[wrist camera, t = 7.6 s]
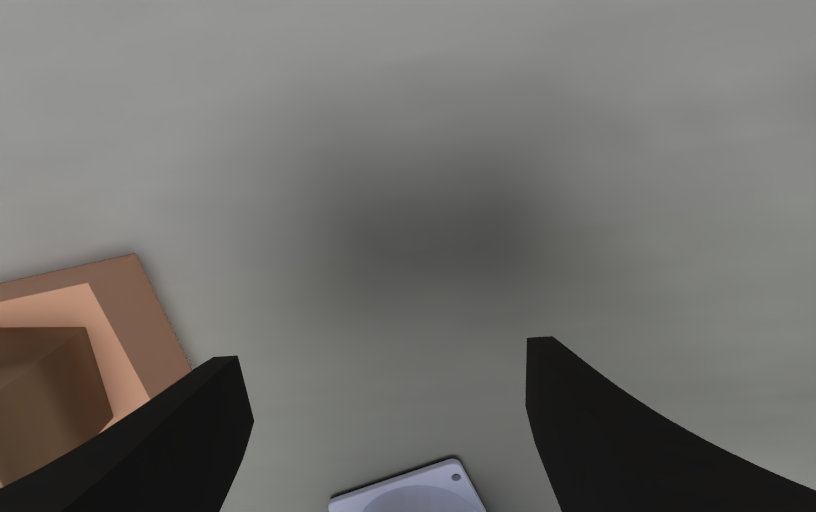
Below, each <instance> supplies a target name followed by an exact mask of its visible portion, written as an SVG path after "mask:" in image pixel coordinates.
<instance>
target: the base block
mask: <svg viewBox="0 0 816 512" xmlns="http://www.w3.org/2000/svg"><path fill="white" fill-rule="evenodd" d="M0 327H86V329H87V333H88V336H89V339H90V342H91V346H92V349H93V352H94V355H95V358H96V362H97V365H98V368H99V371H100V375H101V378H102V381H103V384H104V387H105V391H106V394H107V397H108V400H109V404H110V407H111V410H112V413H113V416H114V417H113V418H112V420H111V421H110V422H109V423H108V424H107V425H106V426H105V427H104V428H103V430H102V431H104V430H105V429H107V428H109V427H110V426H112V425H113V424H115V423H116V422H118V421H119V420H121V419H122V418H124V417H125V416H127V415H128V414H130V413H132V412H133V411H135V410H136V409H138V408H139V407H141V406H142V405H144V404H145V403H146V402H148V401H149V400H151V399H152V398H154V397H155V396H156V395H158V394H159V393H161V392H162V391H164V390H165V389H166V388H168V387H169V386H171V385H172V384H174V383H175V382H176V381H178V380H179V379H181V378H182V377H184V376H185V375H187V374H188V373H189V372H191V371H192V370H191V367H190V365H189V363H188V361H187V359H186V357H185V355H184V353H183V351H182V349H181V347H180V345H179V343H178V340H177V338H176V336H175V334H174V332H173V330H172V328H171V326H170V324H169V322H168V320H167V318H166V316H165V313H164V311H163V309H162V307H161V305H160V303H159V301H158V299H157V297H156V295H155V293H154V291H153V289H152V286H151V284H150V282H149V280H148V278H147V276H146V274H145V272H144V270H143V268H142V266H141V264H140V261H139V259H138V257H137V255H136V253H135V254H131V255H126V256H122V257H117V258H113V259H108V260H104V261H99V262H95V263H90V264H86V265H81V266H77V267H72V268H68V269H63V270H59V271H54V272H50V273H45V274H41V275H36V276H32V277H27V278H23V279H18V280H14V281H9V282H5V283H0ZM102 431H101V432H102ZM101 432H100V433H101Z"/></svg>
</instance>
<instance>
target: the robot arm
mask: <svg viewBox="0 0 816 512" xmlns="http://www.w3.org/2000/svg"><path fill="white" fill-rule="evenodd" d="M525 406H526V410H527V414H528V418H529V422H530V426H531V430H532V433H533V437H534V441H535V444H536V447H537V450H538V452H539V455H540V457H541V460H542V462H543V465H544V468H545V470H546V473H547V475H548V478H549V480H550V483H551V485H552V488H553V490H554V493H555V495H556V498H557V500H558V503H559V505H560V508H561V510H562V512H816V490H813V489H811V488H808V487H806V486H803V485H801V484H798V483H796V482H793V481H791V480H789V479H786V478H784V477H782V476H780V475H777V474H775V473H773V472H770V471H768V470H766V469H764V468H761V467H759V466H757V465H755V464H753V463H751V462H749V461H747V460H745V459H743V458H740V457H738V456H736V455H734V454H732V453H730V452H728V451H726V450H724V449H722V448H720V447H718V446H716V445H714V444H712V443H710V442H708V441H706V440H704V439H702V438H701V437H699V436H697V435H695V434H693V433H692V432H690V431H688V430H686V429H685V428H683V427H681V426H679V425H677V424H676V423H674V422H672V421H670V420H669V419H667V418H665V417H664V416H662V415H660V414H659V413H657V412H655V411H654V410H652V409H651V408H649V407H648V406H646V405H645V404H643V403H642V402H640V401H639V400H637V399H636V398H634V397H633V396H631V395H629V394H628V393H627V392H625V391H624V390H622V389H621V388H619V387H618V386H617V385H615V384H614V383H612V382H611V381H610V380H608V379H607V378H606V377H604V376H603V375H602V374H600V373H599V372H598V371H596V370H595V369H594V368H592V367H591V366H590V365H588V364H587V363H586V362H585V361H583V360H582V359H581V358H579V357H578V356H577V355H576V354H574V353H573V352H572V351H571V350H569V349H568V348H567V347H566V346H564V345H563V344H562V343H561V342H559V341H558V340H557V339H555V338H554V337H552V336H550V337H534V338H527V363H526V405H525ZM253 423H254V419H253V415H252V411H251V407H250V403H249V399H248V395H247V391H246V387H245V383H244V379H243V375H242V371H241V367H240V363H239V359H238V356H223V357H213V358H211V359H210V360H208V361H206V362H205V363H203V364H201V365H200V366H198V367H197V368H195V369H194V370H192V371H191V372H189V373H188V374H187V375H185V376H184V377H182V378H181V379H179V380H178V381H176V382H175V383H174V384H172V385H171V386H169V387H168V388H166V389H165V390H164V391H162V392H161V393H159V394H158V395H156V396H155V397H154V398H152V399H151V400H149V401H148V402H146V403H145V404H144V405H142V406H141V407H139V408H138V409H136V410H135V411H133V412H132V413H130V414H128V415H127V416H125V417H124V418H122V419H121V420H119V421H118V422H116V423H115V424H113V425H112V426H110V427H109V428H107V429H105V430H104V431H102V432H101V433H99V434H98V435H96V436H95V437H93V438H91V439H90V440H88V441H87V442H85V443H83V444H82V445H80V446H78V447H76V448H75V449H73V450H71V451H70V452H68V453H66V454H64V455H63V456H61V457H59V458H57V459H56V460H54V461H52V462H50V463H48V464H47V465H45V466H43V467H41V468H39V469H38V470H36V471H34V472H32V473H30V474H28V475H26V476H24V477H22V478H20V479H18V480H16V481H14V482H12V483H10V484H8V485H6V486H4V487H2V488H0V512H219V511H220V509H221V507H222V505H223V502H224V500H225V498H226V496H227V494H228V492H229V489H230V487H231V485H232V483H233V480H234V478H235V476H236V474H237V471H238V469H239V467H240V464H241V462H242V460H243V457H244V454H245V450H246V447H247V444H248V441H249V437H250V434H251V430H252V427H253ZM453 474H458V475H453ZM328 510H329V512H487V511H486V509H485V507H484V506H483V504H482V502H481V500H480V498H479V496H478V494H477V492H476V491H475V489H474V487H473V485H472V483H471V481H470V479H469V478H468V476H467V474H466V472H465V470H464V468H463V466H462V465H461V463H460V462H459V461H458V460H456V459H448V460H445V461H442V462H439V463H436V464H433V465H430V466H427V467H424V468H421V469H418V470H415V471H412V472H409V473H406V474H403V475H400V476H397V477H394V478H391V479H388V480H385V481H382V482H379V483H376V484H373V485H370V486H367V487H364V488H361V489H358V490H355V491H352V492H349V493H347V494H344V495H341V496H338V497H335V498H332V499H331V500H330V501H329V505H328Z"/></svg>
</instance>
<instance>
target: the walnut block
mask: <svg viewBox="0 0 816 512" xmlns="http://www.w3.org/2000/svg"><path fill="white" fill-rule="evenodd" d="M113 417H114V416H113V413H112V410H111V407H110V404H109V400H108V397H107V394H106V391H105V387H104V384H103V381H102V378H101V375H100V371H99V368H98V365H97V362H96V358H95V355H94V352H93V349H92V346H91V342H90V339H89V336H88V333H87V329H86V327H0V488H2V487H4V486H6V485H8V484H10V483H12V482H14V481H16V480H18V479H20V478H22V477H24V476H26V475H28V474H30V473H32V472H34V471H36V470H38V469H39V468H41V467H43V466H45V465H47V464H48V463H50V462H52V461H54V460H56V459H57V458H59V457H61V456H63V455H64V454H66V453H68V452H70V451H71V450H73V449H75V448H76V447H78V446H80V445H82V444H83V443H85V442H87V441H88V440H90V439H91V438H93V437H95V436H96V435H98V434H99V433H100V432H101V431H102V430H103V428H104V427H105V426H106V425H107V424H108V423H109V422H110V421H111V420H112V418H113Z"/></svg>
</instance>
